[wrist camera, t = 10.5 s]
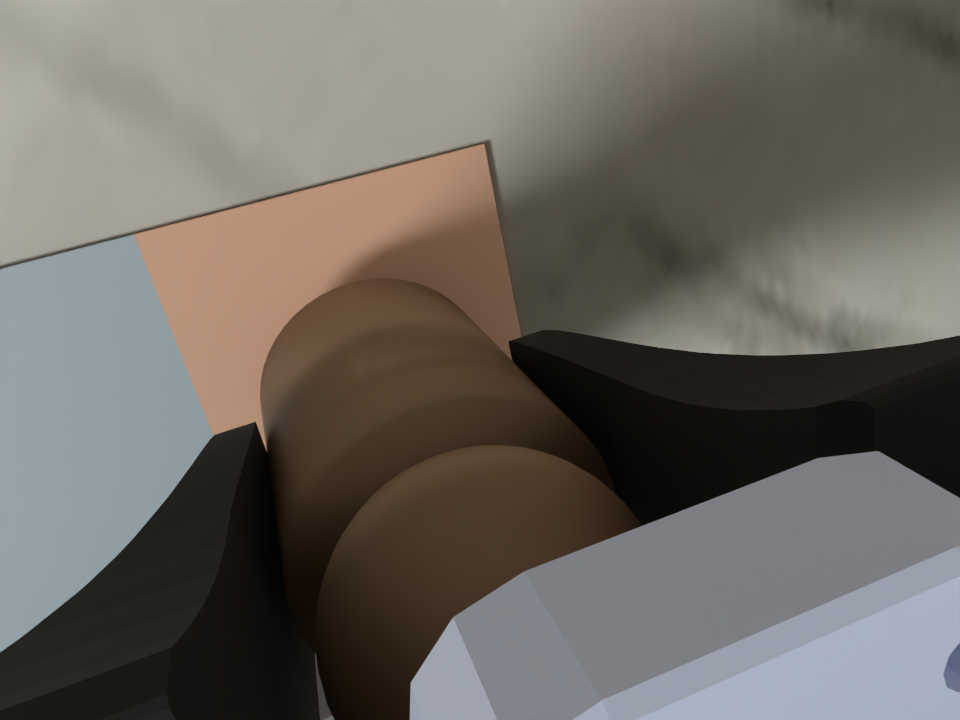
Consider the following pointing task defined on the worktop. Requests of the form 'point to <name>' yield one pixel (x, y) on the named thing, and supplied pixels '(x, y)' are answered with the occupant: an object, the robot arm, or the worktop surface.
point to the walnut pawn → (412, 481)
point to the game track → (197, 348)
